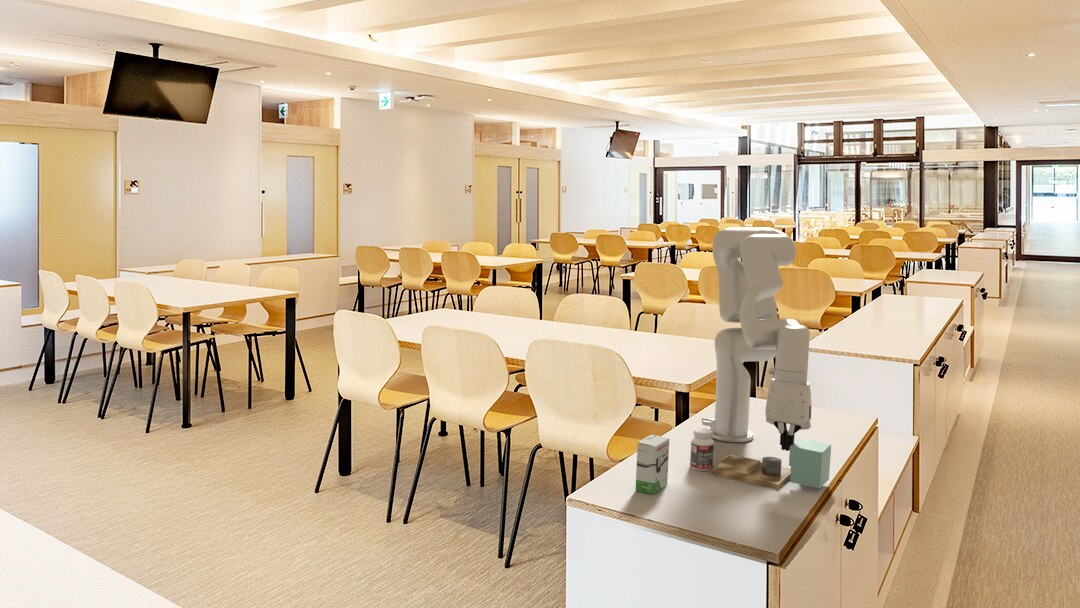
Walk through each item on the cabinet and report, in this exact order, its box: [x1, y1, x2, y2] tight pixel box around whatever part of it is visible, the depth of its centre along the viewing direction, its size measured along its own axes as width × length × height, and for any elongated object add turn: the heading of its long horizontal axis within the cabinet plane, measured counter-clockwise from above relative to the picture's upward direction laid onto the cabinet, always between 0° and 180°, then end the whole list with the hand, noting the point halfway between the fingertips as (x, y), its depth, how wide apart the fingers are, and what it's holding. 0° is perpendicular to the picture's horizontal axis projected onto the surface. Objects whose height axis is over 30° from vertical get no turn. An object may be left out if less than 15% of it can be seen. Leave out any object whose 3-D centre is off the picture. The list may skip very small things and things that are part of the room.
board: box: [710, 453, 791, 490], centre depth 209 cm, size 17×13×5 cm
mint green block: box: [788, 438, 832, 489], centre depth 201 cm, size 8×8×9 cm
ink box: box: [635, 434, 670, 495], centre depth 198 cm, size 9×5×12 cm, turn 148°
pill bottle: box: [689, 427, 715, 472], centre depth 212 cm, size 6×6×10 cm
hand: (786, 448), depth 203 cm, fingers closed
